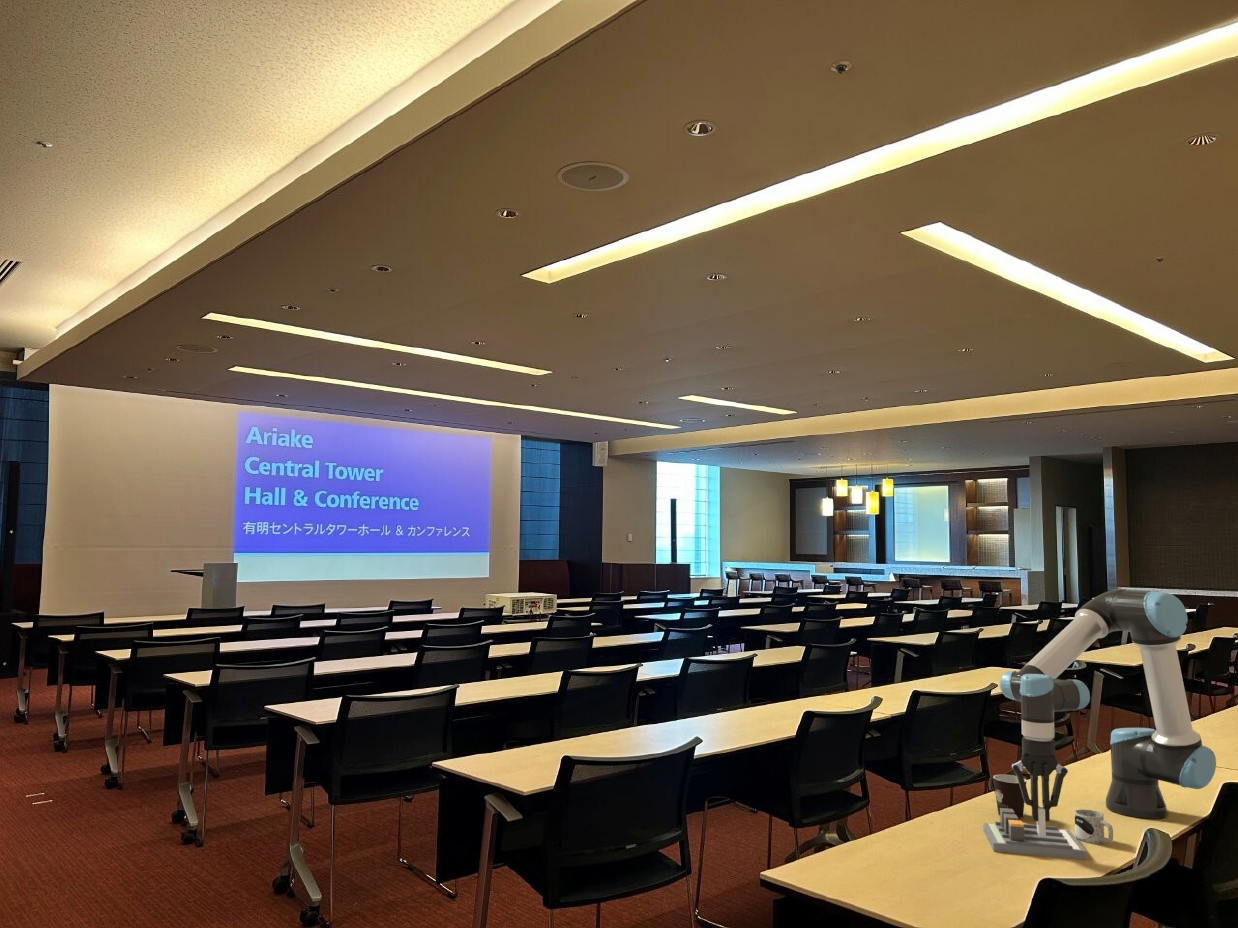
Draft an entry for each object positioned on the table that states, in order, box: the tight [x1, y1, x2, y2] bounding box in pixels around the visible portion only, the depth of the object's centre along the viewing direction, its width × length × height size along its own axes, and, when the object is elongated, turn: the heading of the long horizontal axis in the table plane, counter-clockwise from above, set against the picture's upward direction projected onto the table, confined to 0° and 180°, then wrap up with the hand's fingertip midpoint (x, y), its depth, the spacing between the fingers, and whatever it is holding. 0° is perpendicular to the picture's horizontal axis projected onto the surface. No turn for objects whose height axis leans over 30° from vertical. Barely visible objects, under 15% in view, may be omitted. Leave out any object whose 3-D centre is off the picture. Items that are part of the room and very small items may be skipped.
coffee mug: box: [990, 774, 1027, 820], centre depth 251 cm, size 12×9×10 cm
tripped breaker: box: [1008, 819, 1025, 842], centre depth 221 cm, size 3×3×5 cm
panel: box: [982, 821, 1088, 861], centre depth 225 cm, size 21×16×3 cm
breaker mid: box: [1003, 814, 1019, 834], centre depth 226 cm, size 3×3×5 cm
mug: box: [1074, 808, 1114, 845], centre depth 228 cm, size 10×7×7 cm
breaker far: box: [999, 808, 1015, 828], centre depth 231 cm, size 3×3×5 cm
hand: (1041, 834), depth 221 cm, fingers closed
